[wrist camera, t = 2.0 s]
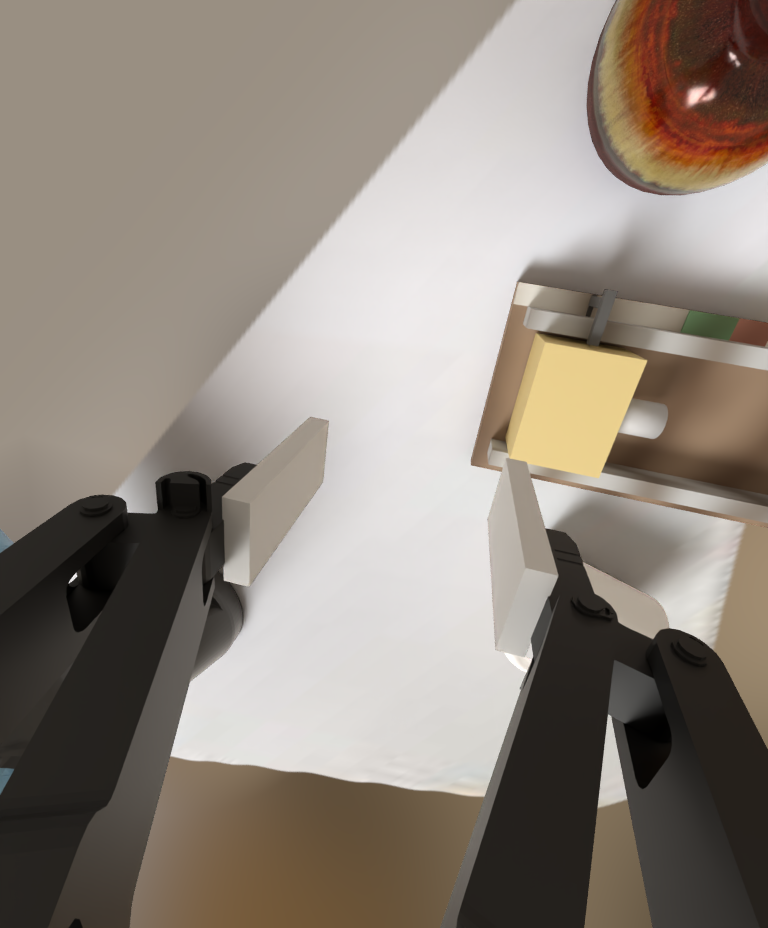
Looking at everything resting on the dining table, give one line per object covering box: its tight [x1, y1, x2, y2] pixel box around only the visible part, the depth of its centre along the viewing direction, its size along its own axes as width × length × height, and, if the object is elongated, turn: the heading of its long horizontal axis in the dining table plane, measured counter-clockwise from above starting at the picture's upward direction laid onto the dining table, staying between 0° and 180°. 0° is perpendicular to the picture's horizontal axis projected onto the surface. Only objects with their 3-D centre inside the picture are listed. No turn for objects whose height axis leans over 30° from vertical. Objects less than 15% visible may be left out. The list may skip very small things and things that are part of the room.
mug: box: [504, 562, 669, 673], centre depth 37 cm, size 12×10×8 cm
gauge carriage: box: [505, 289, 668, 478], centre depth 29 cm, size 9×11×4 cm
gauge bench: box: [471, 282, 768, 528], centre depth 29 cm, size 24×14×7 cm, turn 82°
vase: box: [587, 0, 768, 195], centre depth 18 cm, size 11×11×15 cm
